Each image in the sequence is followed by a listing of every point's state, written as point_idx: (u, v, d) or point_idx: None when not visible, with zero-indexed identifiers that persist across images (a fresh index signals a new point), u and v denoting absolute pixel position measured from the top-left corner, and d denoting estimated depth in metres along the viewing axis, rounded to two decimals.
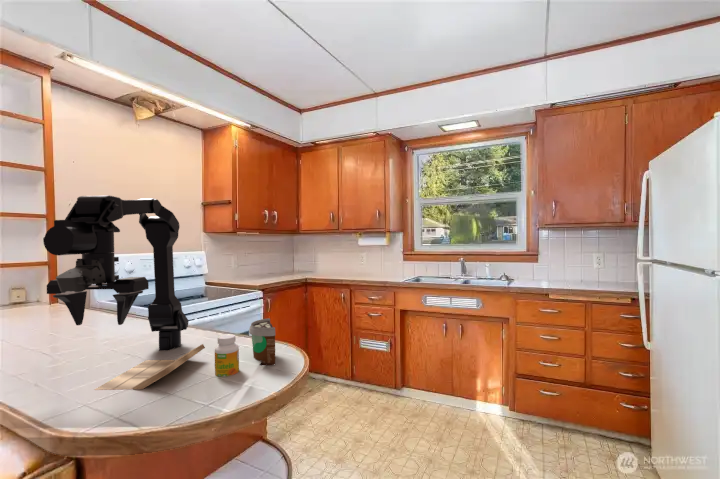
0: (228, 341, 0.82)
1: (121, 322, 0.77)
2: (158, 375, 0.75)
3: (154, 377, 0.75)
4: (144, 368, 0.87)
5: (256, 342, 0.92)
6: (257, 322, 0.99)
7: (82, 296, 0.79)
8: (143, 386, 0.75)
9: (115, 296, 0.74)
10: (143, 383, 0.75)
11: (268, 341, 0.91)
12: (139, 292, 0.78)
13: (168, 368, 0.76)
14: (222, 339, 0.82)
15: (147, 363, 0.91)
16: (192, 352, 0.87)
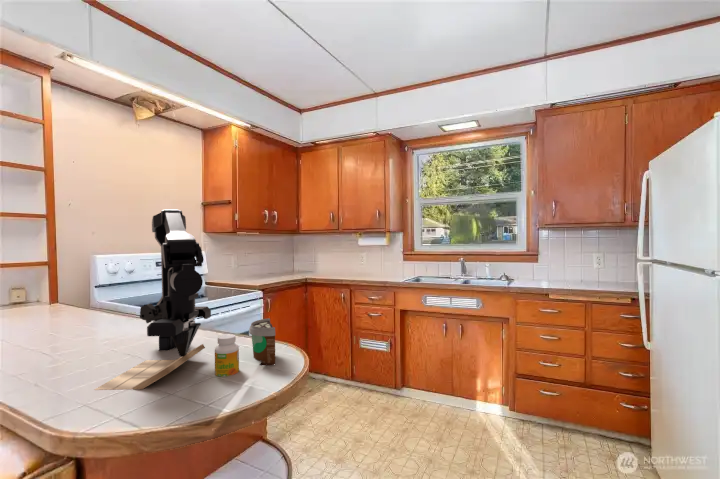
0: (228, 341, 0.82)
1: (181, 354, 0.84)
2: (158, 375, 0.75)
3: (154, 377, 0.75)
4: (144, 368, 0.87)
5: (256, 342, 0.92)
6: (257, 322, 0.99)
7: None
8: (143, 386, 0.75)
9: None
10: (143, 383, 0.75)
11: (268, 341, 0.91)
12: None
13: (168, 368, 0.76)
14: (222, 339, 0.82)
15: (147, 363, 0.91)
16: (192, 352, 0.87)
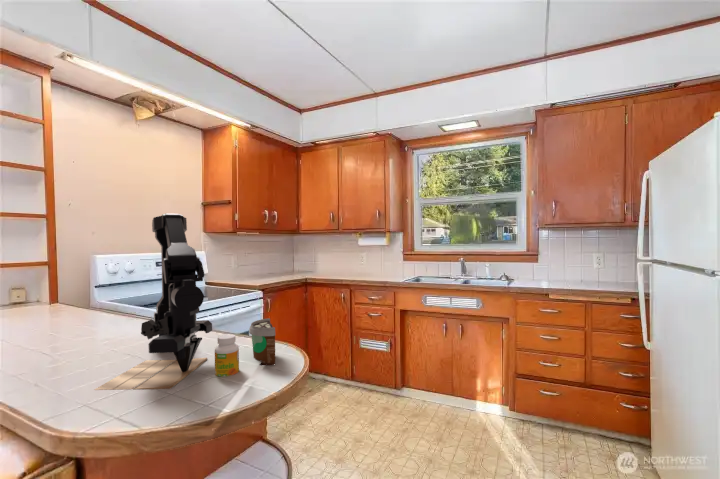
0: (228, 341, 0.82)
1: (182, 370, 0.84)
2: None
3: None
4: (144, 368, 0.87)
5: (256, 342, 0.92)
6: (257, 322, 0.99)
7: None
8: None
9: None
10: None
11: (268, 341, 0.91)
12: None
13: (173, 385, 0.76)
14: (222, 339, 0.82)
15: (147, 363, 0.91)
16: (196, 367, 0.87)
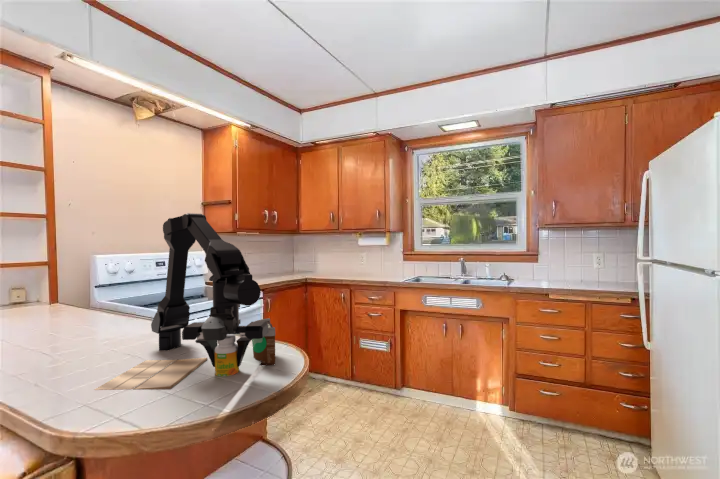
0: (228, 341, 0.82)
1: (240, 364, 0.84)
2: None
3: None
4: (144, 368, 0.87)
5: (256, 342, 0.92)
6: None
7: (215, 339, 0.86)
8: None
9: (238, 342, 0.81)
10: None
11: (268, 341, 0.91)
12: None
13: (173, 385, 0.76)
14: None
15: (147, 363, 0.91)
16: (196, 367, 0.87)
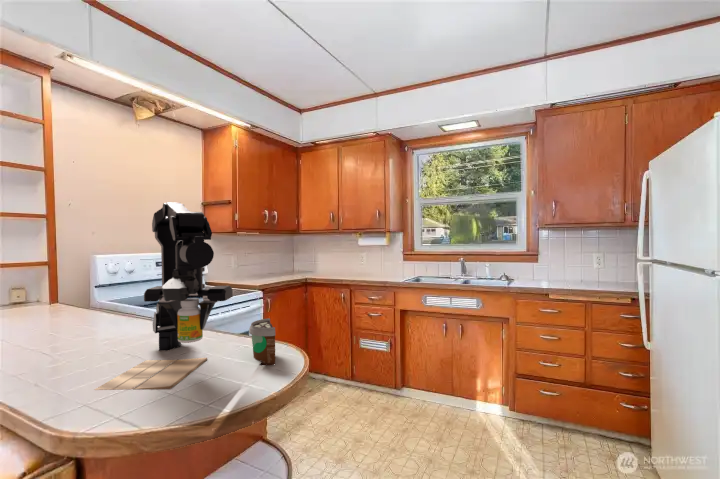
0: (191, 304, 0.83)
1: (203, 327, 0.84)
2: None
3: None
4: (144, 368, 0.87)
5: (256, 342, 0.92)
6: (257, 322, 0.99)
7: (179, 303, 0.86)
8: None
9: (201, 304, 0.82)
10: None
11: (268, 341, 0.91)
12: None
13: (173, 385, 0.76)
14: (185, 301, 0.82)
15: (147, 363, 0.91)
16: (196, 367, 0.87)
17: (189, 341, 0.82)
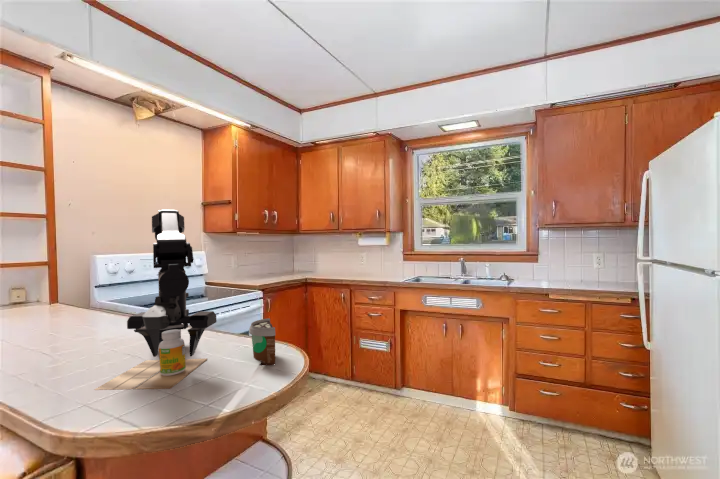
0: (172, 336, 0.83)
1: (192, 353, 0.84)
2: None
3: None
4: (144, 368, 0.87)
5: (256, 342, 0.92)
6: (257, 322, 0.99)
7: (157, 329, 0.86)
8: None
9: (189, 331, 0.81)
10: None
11: (268, 341, 0.91)
12: None
13: None
14: (165, 334, 0.82)
15: (147, 363, 0.91)
16: None
17: (171, 374, 0.82)
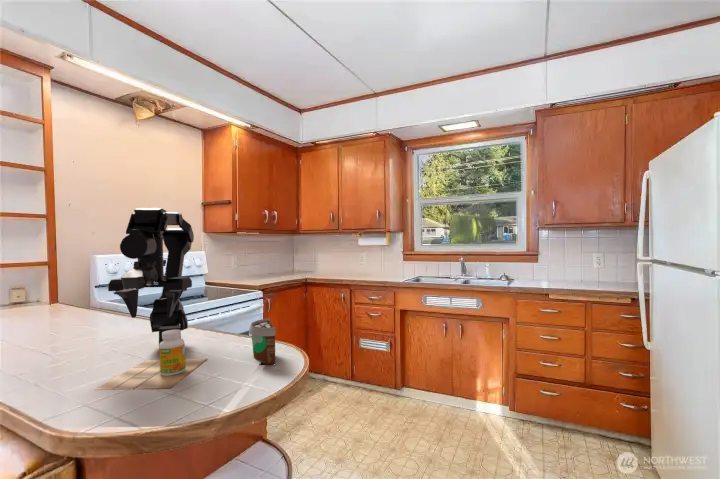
0: (172, 336, 0.83)
1: (170, 315, 0.91)
2: None
3: None
4: (144, 368, 0.87)
5: (256, 342, 0.92)
6: (257, 322, 0.99)
7: (135, 293, 0.93)
8: None
9: (166, 293, 0.88)
10: None
11: (268, 341, 0.91)
12: (184, 289, 0.92)
13: None
14: (166, 334, 0.82)
15: (147, 363, 0.91)
16: None
17: (171, 374, 0.82)
